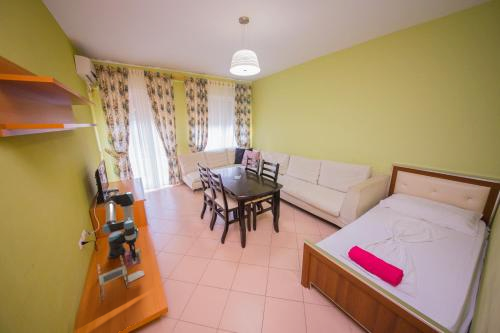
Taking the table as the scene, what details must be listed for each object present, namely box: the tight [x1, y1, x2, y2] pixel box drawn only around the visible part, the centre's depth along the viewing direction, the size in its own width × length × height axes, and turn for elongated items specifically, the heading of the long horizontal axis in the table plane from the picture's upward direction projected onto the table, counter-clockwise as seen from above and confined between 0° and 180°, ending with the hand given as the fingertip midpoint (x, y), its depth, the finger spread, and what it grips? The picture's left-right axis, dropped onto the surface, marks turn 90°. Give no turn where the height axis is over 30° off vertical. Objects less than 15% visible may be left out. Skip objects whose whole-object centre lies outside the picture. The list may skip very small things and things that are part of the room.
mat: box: [128, 270, 145, 284], centre depth 160 cm, size 9×12×1 cm
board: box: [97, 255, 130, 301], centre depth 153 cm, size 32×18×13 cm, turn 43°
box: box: [124, 248, 142, 268], centre depth 157 cm, size 10×6×12 cm, turn 118°
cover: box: [98, 265, 128, 287], centre depth 144 cm, size 11×18×5 cm, turn 133°
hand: (133, 261), depth 158 cm, fingers closed on box, 7 cm apart
